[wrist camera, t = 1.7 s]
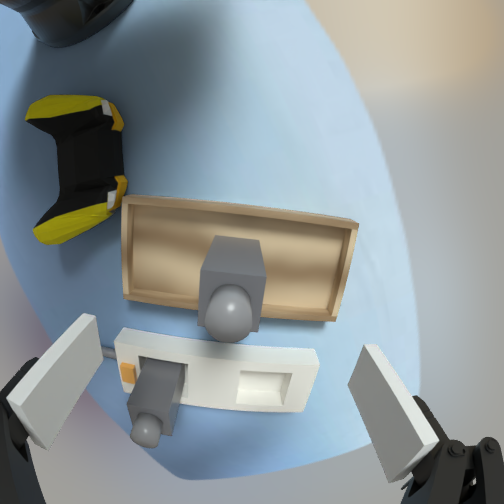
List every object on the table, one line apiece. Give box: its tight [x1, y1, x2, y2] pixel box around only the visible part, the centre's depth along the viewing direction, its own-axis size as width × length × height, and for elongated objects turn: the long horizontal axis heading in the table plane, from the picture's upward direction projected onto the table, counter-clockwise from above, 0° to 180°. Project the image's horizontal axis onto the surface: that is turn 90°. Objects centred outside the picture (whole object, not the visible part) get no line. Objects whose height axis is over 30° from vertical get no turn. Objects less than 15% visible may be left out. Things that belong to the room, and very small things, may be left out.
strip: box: [101, 327, 320, 412], centre depth 28 cm, size 8×28×4 cm, turn 83°
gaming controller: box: [25, 95, 128, 245], centre depth 21 cm, size 15×6×10 cm
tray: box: [121, 194, 359, 322], centre depth 25 cm, size 10×21×2 cm, turn 83°
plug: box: [198, 235, 267, 343], centre depth 20 cm, size 4×4×12 cm
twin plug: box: [127, 357, 185, 448], centre depth 24 cm, size 4×4×12 cm
